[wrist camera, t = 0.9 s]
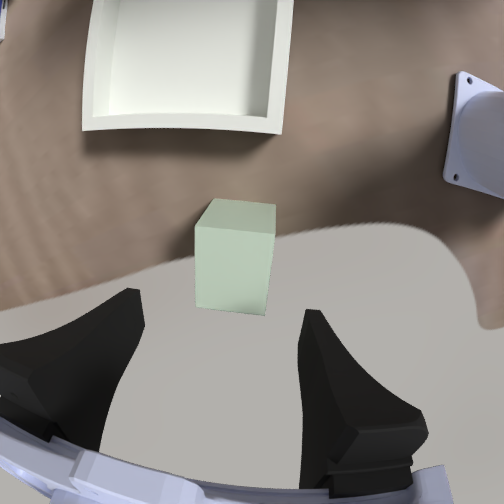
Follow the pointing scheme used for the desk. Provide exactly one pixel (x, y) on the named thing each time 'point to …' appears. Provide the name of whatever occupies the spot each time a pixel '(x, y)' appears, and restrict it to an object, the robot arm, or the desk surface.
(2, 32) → the hard drive
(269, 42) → the desk bin
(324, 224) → the desk surface
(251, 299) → the sage block
